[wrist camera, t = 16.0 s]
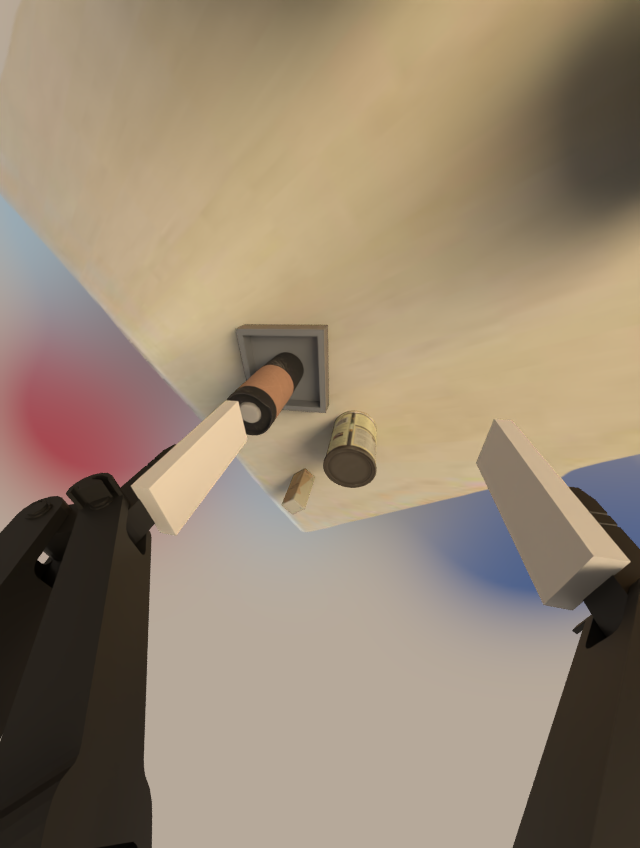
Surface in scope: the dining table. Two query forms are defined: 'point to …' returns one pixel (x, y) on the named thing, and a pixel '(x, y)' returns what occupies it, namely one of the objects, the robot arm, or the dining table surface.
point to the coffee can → (352, 450)
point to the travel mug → (268, 392)
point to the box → (298, 492)
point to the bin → (300, 341)
